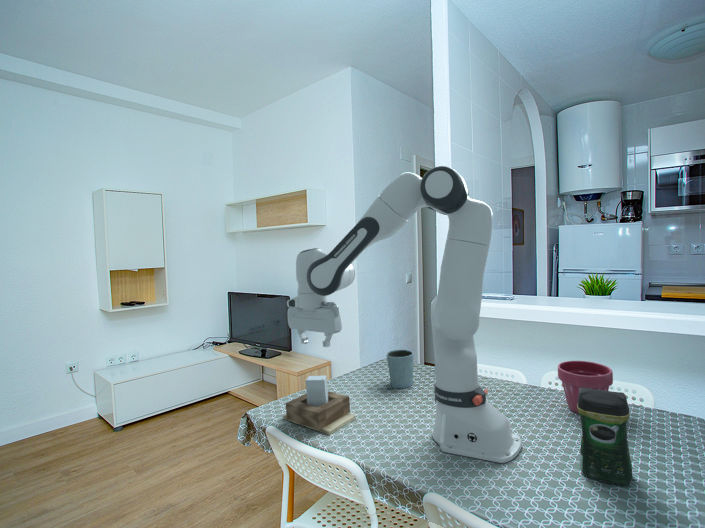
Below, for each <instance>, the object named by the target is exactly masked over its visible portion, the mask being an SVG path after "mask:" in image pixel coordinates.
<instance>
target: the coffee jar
mask: <svg viewBox="0 0 705 528" xmlns="http://www.w3.org/2000/svg"><path fill="white" fill-rule="evenodd" d="M627 399H628V398H627V396H626V394H625V393H624V392H621V391H620V392H618V391H610V390H608V391H605V390H597V389H589V388H584V387H583V388H581V389H580V391H579V396H578V403H577V409H578V412H579V413H578V414H579V416H580V424H581V425H580V426H581V429H580V430H581V435H580V451H579V452H580V453H579V469H580V471H581V472H582V474H584V475H585V476H586V477H588V478H590V479H593V480H597V481H600V482H605V483H609V484H612V485H616V486H617V485H618V486H626V485H629V484H631V483H632V481H633V465H632V461H631V460H632V459H631V454H630V449H629V447H630V446H629V442H628V441H629V440H628V428H627V424H628V422H629V419H630V415H631V414H630V407H629V404H628V400H627Z"/></svg>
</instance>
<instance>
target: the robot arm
mask: <svg viewBox="0 0 705 528" xmlns="http://www.w3.org/2000/svg"><path fill="white" fill-rule="evenodd" d="M469 195H470V194H469V189H468V187H467V183H466V182H465V179H464V178H463V176H462V175H461V174H460V173H459V172H458V171H457V170H456V169H454V168H452V167H450V166H448V165H437V166H434V167H432V168H431V169H429V170H428V171H426V172H425V174H424V175H423V177H421V176H420V175H418V174H416V173H413V172H411V171H410V172H409V171H408V172H407V171H405V172H403V173H401V174H400V175H398V176H397V177H396V178H395V179H394V180H392V181H391V182H390V183H389V184H388V185H387V186H386V187H385V188H384V189H383V190H382V191H381V192H380V193H379V195H378V196H377V197H376V199H375V200H374V201H373V202H372V203H371V205H370V206H369V208H368V209H366V211H365V213H364V214H363V215H362V216H361V217H360V219H359V221H357V223H356V224H355V225H354V227H352V228H351V230H350V231H349V232H348V233H347V234H346V235H345V236H344V237H343V238H342V239H341V241H339V243H338V244H337V245H335V247H334V248H333V249H332V250H331V251H330V252H329V253H327V252H325V251H324V250H322V249H321V248H318V247H317V248H315V247H314V248H308V249H305V250H302V251H300V252H299V253H298V254H297V256H296V259H295V260H296V261H295V276H296V282H297V286H298V287H297V296H295V297H293V298H290V299H288V300H287V301H286V305H287V307H288V309H287V312H286V313H287V324H288V327H289V329H291V330H297V334H298V336H299V337H300V341H301V342H300V343H301V344H302V345H306V344H309V337H307V335H306V333H305V332H306V331H307V332H314V333H315V332H316V333H323V335H324V337H325V339H324V340H323V341H322V347H323V348H329V347H330V346H331V340H332V338H333V335H334V334H338V333H340V332H341V330H342V328H343V325H342V319H341V315H340V314H341V313H340V310H339V309H340V308H339V306H338V305H337V304H336V302H334V301H328V299H327V296H330V295H332V294H335V293H336V292H339V291H341V290H343V289H345V288H348V287H349V286H350V285H351V284H353V282H354V280H355V279H356V278H355V277H356V271H355V267H354V265H353V262H354V261H356V260H357V258H358V257H359V256H360V255H361V254H362V253H363V252H364V251H365V250H366V249H367V248H368V247H370V246H372V245H373V244H375V243H378V242H380V241H383V240H386V239H389V238H390V237H393V236H394V235H395V234H397V233H398V232H399V231H400V230H401V229H402V228H403V227H404V226H405V225H406V224H407V223H408V222H409V221H410V219H412V218H413V216H414V215H415V214H416V213H417V212H418V211H419V210H421V209H423V208H426V209H429V210H432V211H434V212H436V213H439V214H441V215H445V216H447V218H448V231H447V236H446V240H445V245H444V251H443V255H442V261H441V264H440V265H441V266H440V274H439V280H438V281H439V282H438V289H437V295H435V296H434V298H433V300H432V301H431V304H430V323H431V333H432V334H431V336H432V345H433V355H434V357H433V358H434V374H435V375H434V376H435V383H434V392H433V393H434V402H435V419H434V425H433V430H432V433H431V434H432V435H431V436H432V438H433V440H434V441H435V442H436V444H438V445H439V447H440V450H441V451H442V452H444V453H448V454H453V455H458V456H463V457H469V458H474V459H480V460H483V461H484V460H485V461H489V462H495V463H500V464H505V463H508V462H510V461H512V460H514V459H515V458H516V457H517V456H518V455H519V453H520V452H521V450H522V446H523V445H522V439H521V437H520V436H519V435H518V434H515V433H513V432H512V428H511V424H510V421H509V419H508V418H507V416H506V415H504V414H503V413H502V412H500V411H499V410H498V409H497V408H495V407H494V405H492V404H491V403H490V402H489V401H487V394H488V392H489V391H488V388H485V389H483V388H482V387H481V386H480V384H479V374H478V373H479V372H478V357H477V352H476V346H475V339H474V335H475V334H476V333H477V331H478V329H479V327H480V326H479V325H480V314H481V307H482V306H481V305H482V297H483V287H484V285H483V282H484V274H485V269H486V264H487V259H488V256H489V251H490V250H489V249H490V244H491V239H492V231H493V230H492V229H493V210H492V208H491V207H490V206H489V205H488V204H487V203H486V202H484V201H480V200H477V199H473V198H470V196H469Z"/></svg>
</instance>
